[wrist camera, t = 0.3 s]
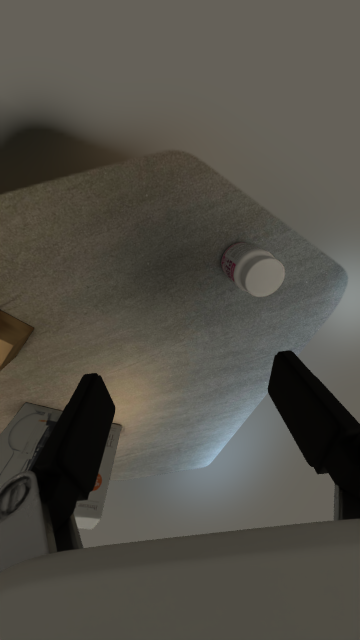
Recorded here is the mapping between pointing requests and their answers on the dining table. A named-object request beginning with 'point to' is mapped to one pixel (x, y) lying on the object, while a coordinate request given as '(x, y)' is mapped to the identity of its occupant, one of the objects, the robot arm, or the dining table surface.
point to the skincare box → (27, 443)
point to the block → (11, 337)
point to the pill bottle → (253, 269)
